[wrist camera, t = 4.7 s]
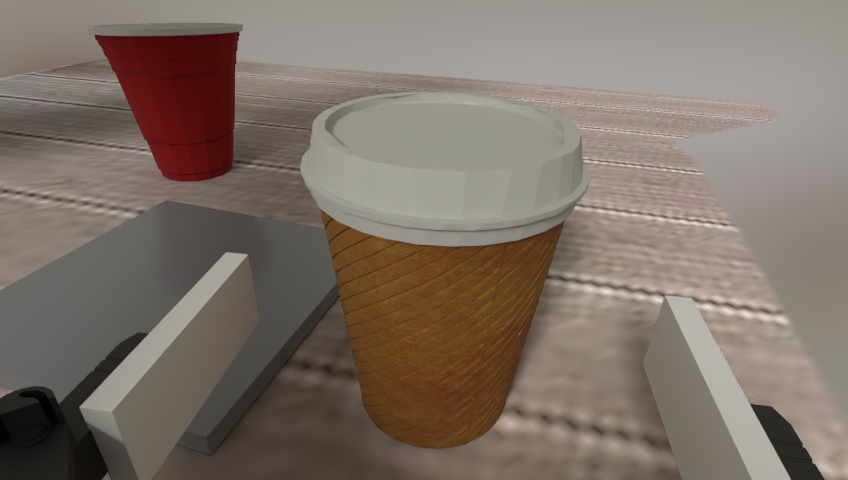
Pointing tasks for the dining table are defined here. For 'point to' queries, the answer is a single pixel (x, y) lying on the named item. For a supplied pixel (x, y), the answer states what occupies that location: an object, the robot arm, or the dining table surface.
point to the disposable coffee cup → (441, 246)
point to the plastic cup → (178, 91)
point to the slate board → (166, 303)
